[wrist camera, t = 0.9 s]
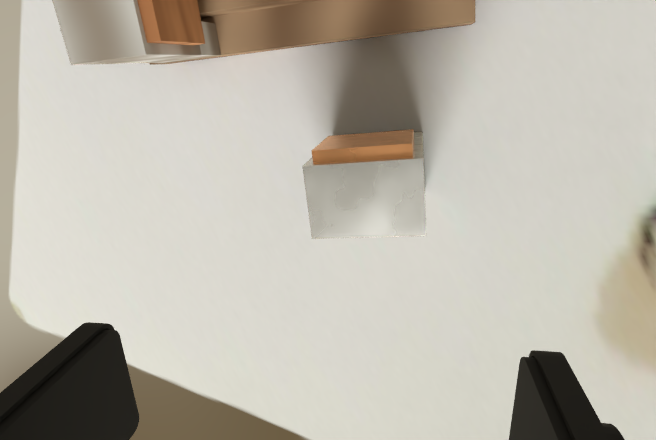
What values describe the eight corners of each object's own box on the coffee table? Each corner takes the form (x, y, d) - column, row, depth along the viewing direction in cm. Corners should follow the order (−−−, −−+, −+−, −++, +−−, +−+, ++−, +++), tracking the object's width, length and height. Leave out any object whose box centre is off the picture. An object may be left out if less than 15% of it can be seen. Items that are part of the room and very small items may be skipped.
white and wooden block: (424, 191, 29) (426, 235, 22) (338, 195, 31) (312, 238, 23) (422, 120, 28) (422, 143, 20) (330, 128, 29) (300, 152, 22)
